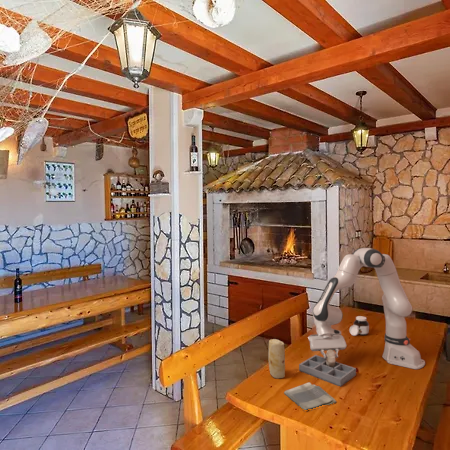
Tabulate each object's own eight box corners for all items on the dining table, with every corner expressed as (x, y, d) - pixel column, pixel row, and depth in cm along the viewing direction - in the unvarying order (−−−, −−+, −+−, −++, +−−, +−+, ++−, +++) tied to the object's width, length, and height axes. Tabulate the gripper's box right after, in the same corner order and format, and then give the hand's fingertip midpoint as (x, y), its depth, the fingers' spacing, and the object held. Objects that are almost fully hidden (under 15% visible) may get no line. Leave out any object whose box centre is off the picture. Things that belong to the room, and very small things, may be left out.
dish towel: (305, 413, 162) (305, 407, 162) (283, 394, 179) (283, 388, 178) (337, 403, 170) (337, 397, 170) (314, 386, 186) (314, 380, 186)
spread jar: (369, 333, 255) (369, 317, 254) (366, 338, 246) (366, 322, 245) (352, 330, 262) (352, 314, 261) (348, 335, 252) (348, 319, 251)
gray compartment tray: (355, 375, 196) (355, 368, 195) (340, 386, 184) (340, 379, 183) (315, 361, 213) (315, 354, 213) (299, 370, 202) (299, 364, 201)
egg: (336, 366, 201) (336, 349, 200) (332, 369, 198) (332, 352, 197) (329, 363, 205) (329, 347, 204) (324, 366, 201) (324, 349, 201)
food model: (287, 376, 196) (287, 340, 195) (281, 381, 191) (281, 344, 189) (271, 371, 202) (271, 336, 200) (265, 376, 196) (265, 340, 195)
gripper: (308, 332, 206) (314, 356, 197) (343, 330, 208) (350, 354, 199) (306, 337, 211) (311, 360, 202) (340, 335, 212) (347, 358, 203)
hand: (331, 357), depth 200 cm, fingers closed on egg, 5 cm apart
